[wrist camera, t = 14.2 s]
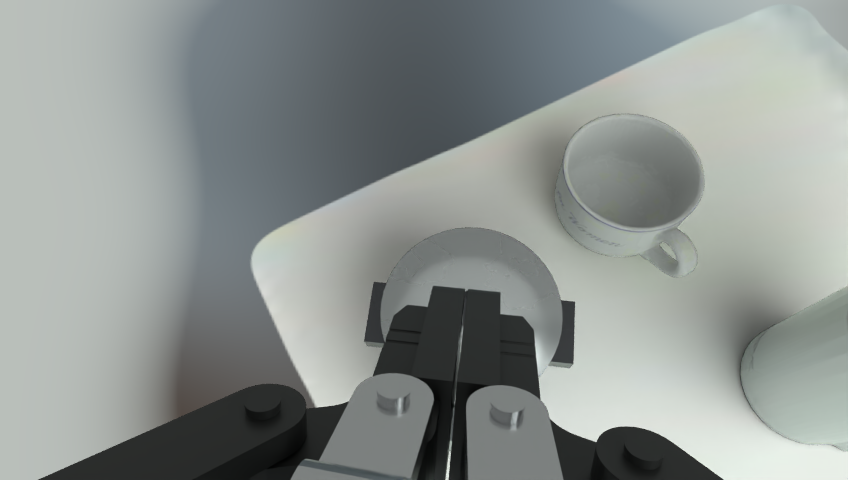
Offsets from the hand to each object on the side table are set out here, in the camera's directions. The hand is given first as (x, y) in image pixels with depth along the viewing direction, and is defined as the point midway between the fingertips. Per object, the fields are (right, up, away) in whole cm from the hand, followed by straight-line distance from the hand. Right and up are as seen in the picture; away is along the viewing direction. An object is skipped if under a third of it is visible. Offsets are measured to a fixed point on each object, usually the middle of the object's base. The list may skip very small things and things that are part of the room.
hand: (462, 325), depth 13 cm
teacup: (+16, +3, +40) cm, 43 cm away
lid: (+2, -3, +27) cm, 28 cm away
